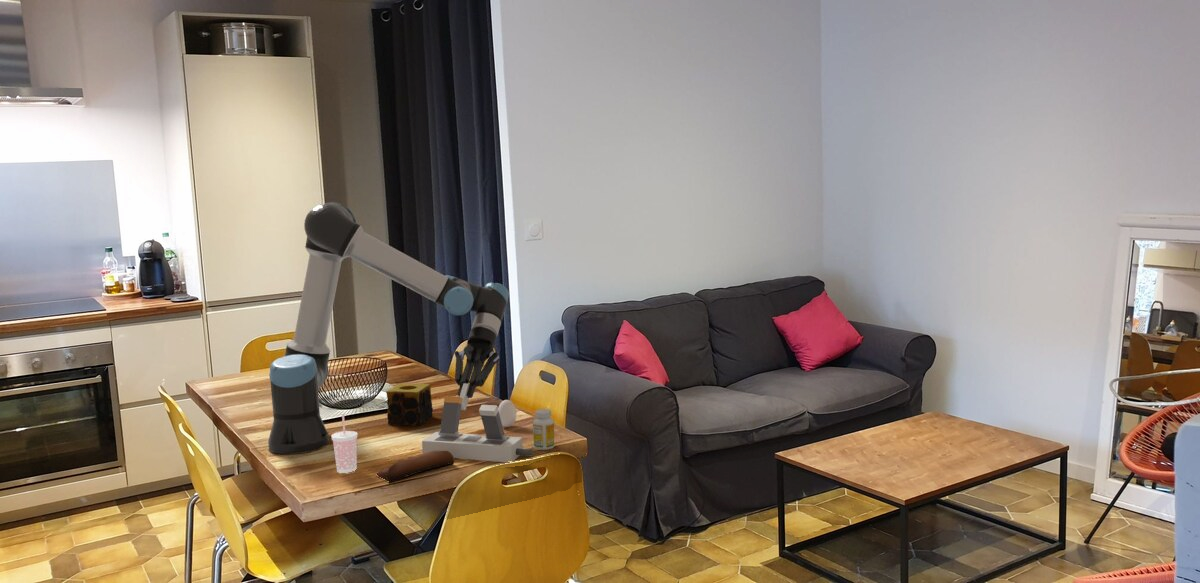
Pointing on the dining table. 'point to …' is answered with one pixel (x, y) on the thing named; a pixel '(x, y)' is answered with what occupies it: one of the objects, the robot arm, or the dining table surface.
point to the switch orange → (450, 416)
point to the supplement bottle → (543, 430)
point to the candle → (409, 404)
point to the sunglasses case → (416, 465)
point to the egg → (507, 413)
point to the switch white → (492, 422)
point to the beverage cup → (345, 449)
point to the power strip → (477, 447)
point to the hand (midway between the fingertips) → (461, 407)
